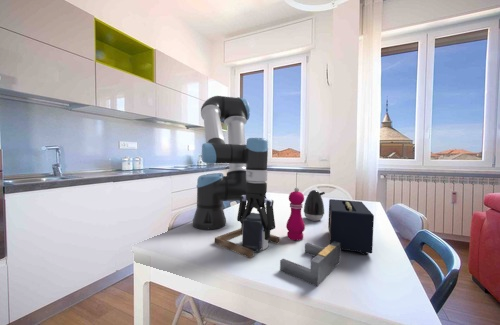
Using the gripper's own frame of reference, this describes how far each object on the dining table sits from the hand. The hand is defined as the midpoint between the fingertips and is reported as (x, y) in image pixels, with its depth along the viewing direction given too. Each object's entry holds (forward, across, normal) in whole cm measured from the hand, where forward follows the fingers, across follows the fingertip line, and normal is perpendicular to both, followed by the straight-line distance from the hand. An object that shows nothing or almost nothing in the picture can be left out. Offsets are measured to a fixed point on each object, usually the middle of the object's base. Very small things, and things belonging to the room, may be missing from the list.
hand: (254, 244), depth 78 cm
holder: (0, -4, 0) cm, 4 cm away
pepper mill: (+1, +7, +17) cm, 18 cm away
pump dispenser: (0, +2, +46) cm, 46 cm away
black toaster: (+1, +24, +26) cm, 35 cm away
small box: (+1, 0, 0) cm, 1 cm away
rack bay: (0, +22, 0) cm, 22 cm away
